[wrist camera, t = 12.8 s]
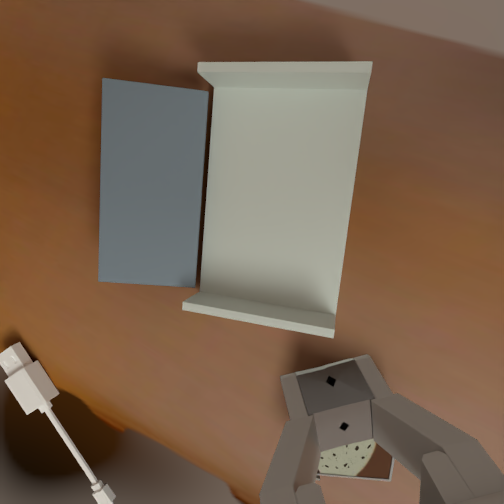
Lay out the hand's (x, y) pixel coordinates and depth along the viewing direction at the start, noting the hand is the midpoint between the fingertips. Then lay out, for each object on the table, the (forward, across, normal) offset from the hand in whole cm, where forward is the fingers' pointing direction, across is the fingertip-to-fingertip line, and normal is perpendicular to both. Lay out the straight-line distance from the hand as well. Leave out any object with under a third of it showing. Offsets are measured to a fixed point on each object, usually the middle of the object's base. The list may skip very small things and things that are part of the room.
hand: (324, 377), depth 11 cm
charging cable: (+35, -39, -36) cm, 63 cm away
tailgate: (+35, -5, -3) cm, 35 cm away
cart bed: (+33, +4, -6) cm, 34 cm away
